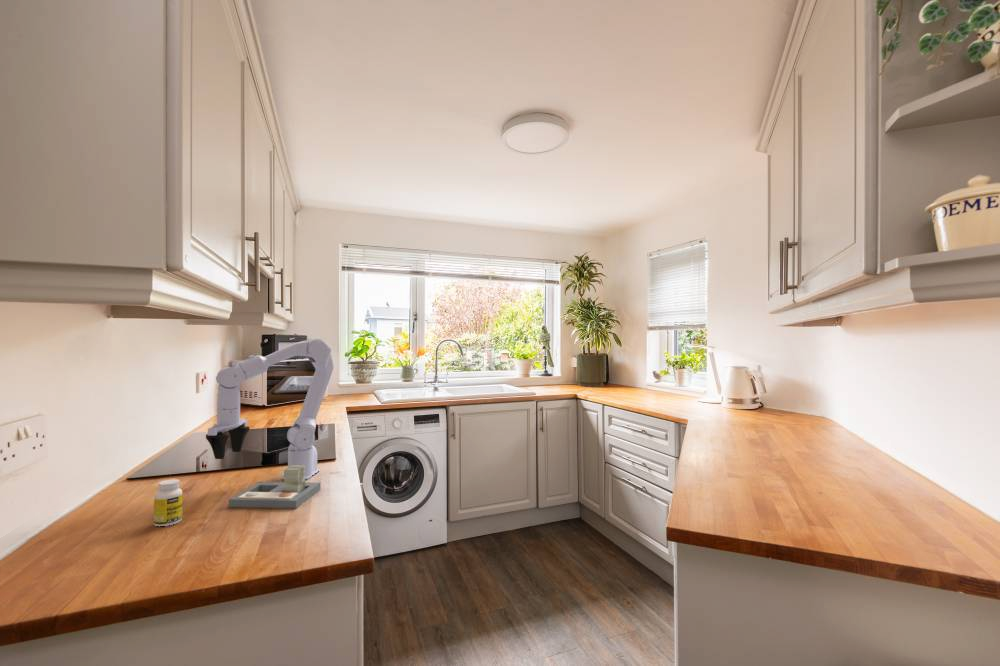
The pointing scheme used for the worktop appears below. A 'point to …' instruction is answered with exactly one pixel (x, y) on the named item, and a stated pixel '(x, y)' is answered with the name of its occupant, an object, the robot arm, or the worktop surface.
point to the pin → (294, 479)
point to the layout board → (272, 496)
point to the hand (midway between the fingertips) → (228, 455)
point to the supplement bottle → (168, 503)
